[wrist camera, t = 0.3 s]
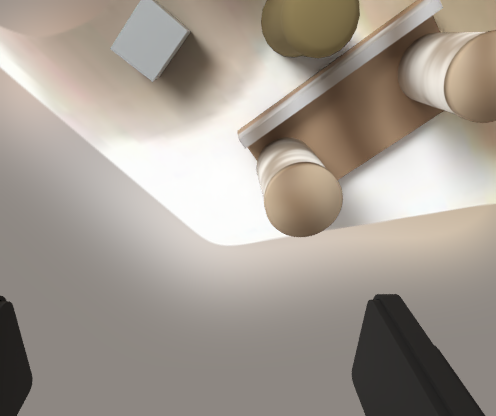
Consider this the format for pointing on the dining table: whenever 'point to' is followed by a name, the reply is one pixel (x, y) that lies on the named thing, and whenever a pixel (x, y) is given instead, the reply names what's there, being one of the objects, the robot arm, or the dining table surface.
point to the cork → (309, 26)
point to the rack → (365, 112)
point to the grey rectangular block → (150, 39)
